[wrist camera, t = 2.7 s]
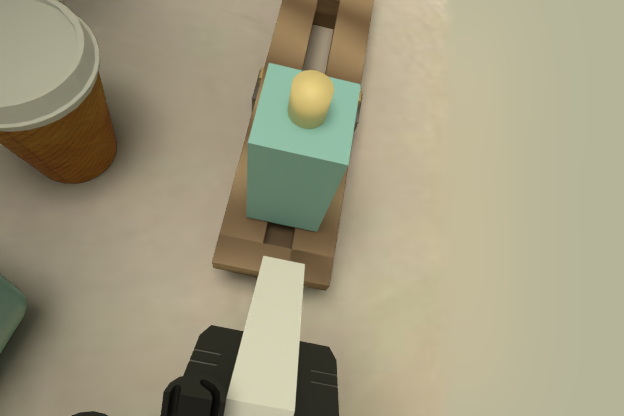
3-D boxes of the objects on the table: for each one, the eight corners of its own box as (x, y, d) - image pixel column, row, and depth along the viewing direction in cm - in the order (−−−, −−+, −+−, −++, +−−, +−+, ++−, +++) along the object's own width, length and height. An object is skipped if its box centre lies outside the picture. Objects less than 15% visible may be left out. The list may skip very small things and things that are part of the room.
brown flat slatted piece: (324, 300, 34) (336, 287, 30) (209, 278, 34) (204, 260, 29) (370, 5, 47) (384, -37, 42) (288, -16, 46) (293, -60, 42)
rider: (314, 238, 32) (358, 144, 20) (246, 223, 32) (248, 119, 19) (324, 177, 34) (370, 58, 22) (260, 163, 34) (271, 34, 21)
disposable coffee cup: (65, 83, 38) (-6, -41, 27) (160, 133, 38) (126, 28, 27) (-16, 166, 34) (-138, 62, 23) (88, 223, 34) (14, 144, 23)
